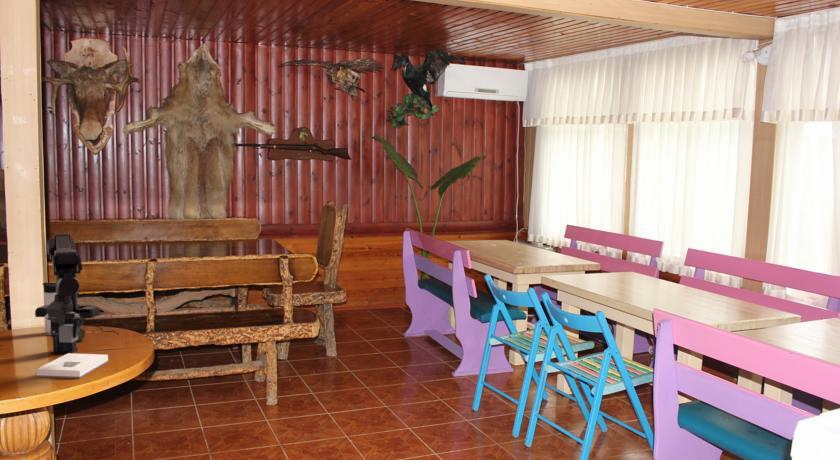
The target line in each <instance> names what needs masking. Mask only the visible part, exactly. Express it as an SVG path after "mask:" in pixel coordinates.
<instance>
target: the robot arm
mask: <svg viewBox="0 0 840 460" xmlns="http://www.w3.org/2000/svg"><path fill="white" fill-rule="evenodd" d="M47 255H48V256H49V259H50V261H51V262H52V271H53V276H55V283H56V295H55V299H54V302H52V303H51V304H50V305H44V304H43V305H42V306H38V307H36V309H35V311H34V316H35V317H36V318H45V316H46V315H47V314H48V318H47V320H50V334H51V335H50V338H52V341H53V342H52V343H53V350H52V351H51V352H50V354H58V355H59V354H60V355H66V354H68V353H73V352H75V351H77V350H78V349H79V348H78V347H77V340H76V341H74V342H72V343H68V342H59V327H60V326H62V325H65V324H73V336H74V338H76V337H77V335H78V334H79V331H80V329H82V328H81V327H83V323H84V322H85V320H86V319H93V318H95V317H98V316H100V315H101V309H100V307H99V306H92V305H87V306H84V307H82V308H80V303H78V296H80V291H79V288H80V282H79V281H78V279H77V275H76V274H81V271H83V265H82V264H83V263H82V257H81V256H80V254H78V253H77V250H76V246H75V239H73V238H72V237H71V234H70V233H55V234H53V237H51V238H50V239H48V240H47ZM53 331H55V332H53Z"/></svg>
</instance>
